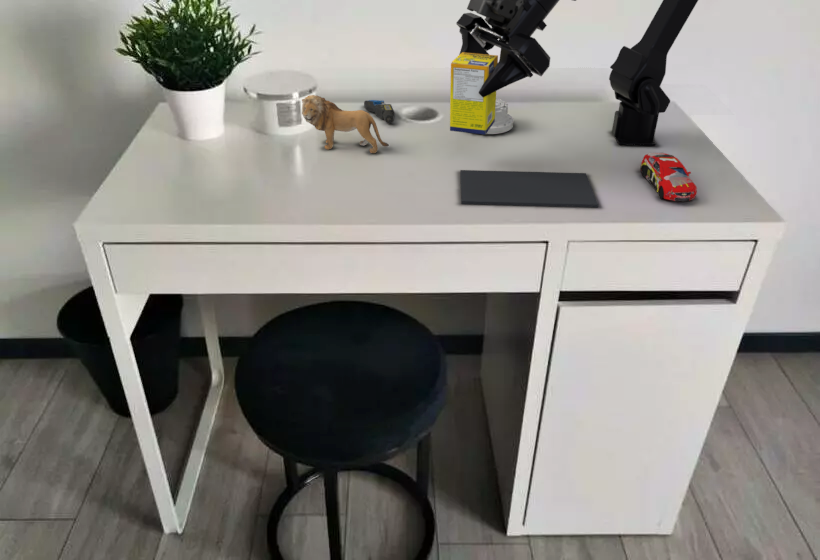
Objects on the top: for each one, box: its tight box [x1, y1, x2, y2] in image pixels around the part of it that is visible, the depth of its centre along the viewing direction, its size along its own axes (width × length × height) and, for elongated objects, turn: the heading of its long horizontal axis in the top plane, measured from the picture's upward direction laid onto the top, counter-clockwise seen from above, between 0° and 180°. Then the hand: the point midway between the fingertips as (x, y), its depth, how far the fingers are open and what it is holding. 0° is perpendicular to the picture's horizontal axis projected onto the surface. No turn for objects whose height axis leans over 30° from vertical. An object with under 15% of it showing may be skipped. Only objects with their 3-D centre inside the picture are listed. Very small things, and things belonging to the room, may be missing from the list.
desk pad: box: [459, 169, 599, 208], centre depth 109 cm, size 20×11×1 cm, turn 87°
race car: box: [640, 152, 698, 202], centre depth 109 cm, size 13×5×4 cm, turn 2°
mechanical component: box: [486, 98, 514, 135], centre depth 130 cm, size 10×4×10 cm
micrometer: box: [363, 99, 395, 124], centre depth 135 cm, size 12×2×5 cm
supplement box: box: [449, 52, 499, 136], centre depth 110 cm, size 6×6×11 cm
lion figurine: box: [301, 94, 390, 154], centre depth 120 cm, size 15×5×9 cm, turn 86°
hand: (466, 87), depth 109 cm, fingers closed on supplement box, 8 cm apart
